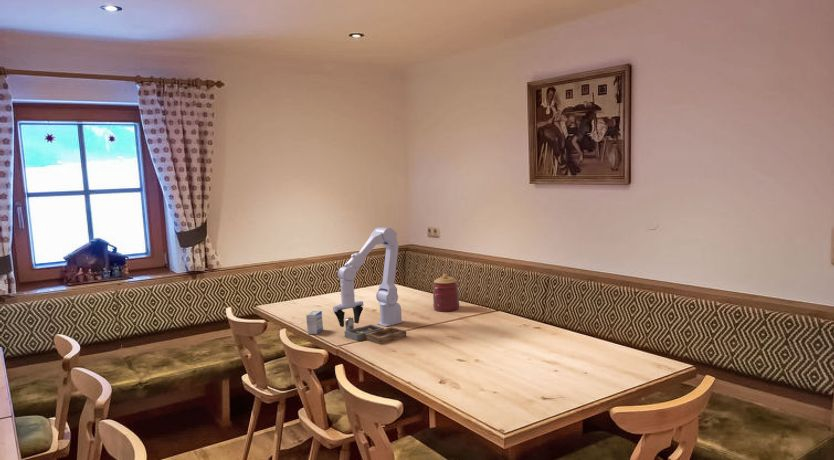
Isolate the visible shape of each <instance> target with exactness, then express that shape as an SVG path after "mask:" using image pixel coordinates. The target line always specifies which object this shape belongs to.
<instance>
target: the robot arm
mask: <svg viewBox="0 0 834 460" xmlns="http://www.w3.org/2000/svg"><path fill="white" fill-rule="evenodd" d="M381 244H382V246H383V247H384V248H385V255H384V265H383V275H382V282H381V284H379V286H378V289H377V292H376V295H375V298H376V300H377V301H378V304H379V316H380V317H379V318H380V320H379V321H377V322H376V324H377V325H381V326H384V327H389V326H394V325H398V324H401V323H403V322H404V321H403V319H402V318H403V317H402V307H401V304H400V303H398V301H399V294H398V287H397V286H396V285H395V280H396V273H397V272H396V271H397V264H398V255H399V243H398V238H397V232H396V231H395V229H393V227H382V226H377V227H376V228H374V230H373V231H372V232H371V233H370V235H369V238H368V239H367V240H366V242H365V243H364V244H363V246H362V248H360V250H359V252H354V253H352V254H351V256H350V258H349V259H348V261H347V262H345V264H344V265H343V266H341V267H340V268H339V269H338V271H337V274H336V275H337V277H338V279H339V280H340V281H339V282H340V295H341V296H340V297H341V298H340V299H341V304H337V305H335V306H332V311H333V313H334V315H335V316H336V318H337V320H338V324H339V327H341V328H344V327H345V313H346V312H345V311H343V310H348V309H352V311H353V321H354V323H355V324H359V322H360V317H361V314H362V312H363V310H364V307H363V306H364V301H362V300H359V301H355V300H356V299H355V283H354V279H355V278H356V277H357V272H358V271H359V269H360V268H361V267H362V265H364V263H366V257H367V255H368V254H369V253H371V251H372V250H373V249H374V248H375V247H376V246H378V245H381Z"/></svg>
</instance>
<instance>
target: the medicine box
mask: <svg viewBox="0 0 834 460" xmlns="http://www.w3.org/2000/svg"><path fill="white" fill-rule="evenodd" d="M305 318H306V319H305V320H306V330H307V334H308V335H318V334H319V333H320V332H321V331H323V330H324V324H323V322H324V321H323V311H322V310H313V311H311V312H310V313H307V314H306V315H305Z"/></svg>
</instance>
